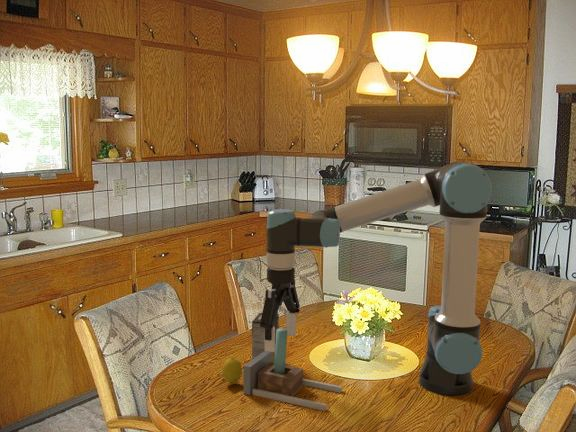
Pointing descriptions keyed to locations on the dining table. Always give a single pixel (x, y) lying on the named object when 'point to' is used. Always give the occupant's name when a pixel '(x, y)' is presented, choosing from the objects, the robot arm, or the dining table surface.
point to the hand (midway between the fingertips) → (280, 343)
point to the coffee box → (261, 336)
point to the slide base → (252, 387)
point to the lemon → (232, 370)
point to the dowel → (280, 351)
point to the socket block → (281, 380)
